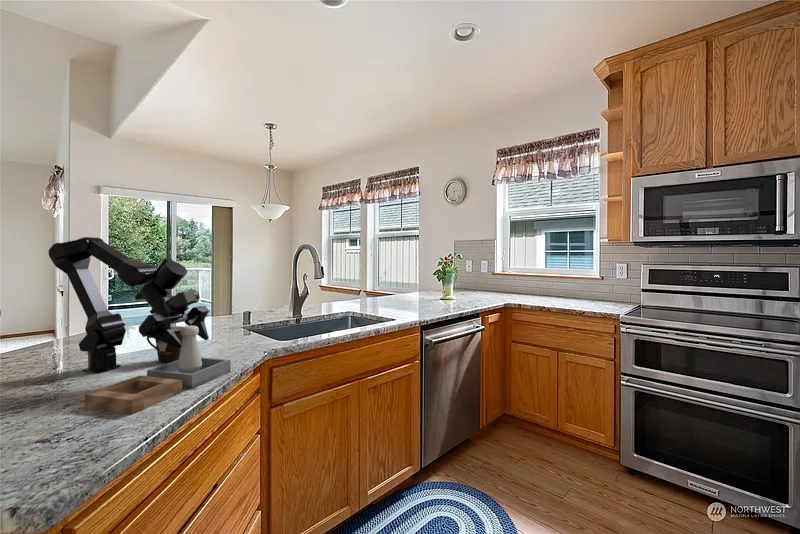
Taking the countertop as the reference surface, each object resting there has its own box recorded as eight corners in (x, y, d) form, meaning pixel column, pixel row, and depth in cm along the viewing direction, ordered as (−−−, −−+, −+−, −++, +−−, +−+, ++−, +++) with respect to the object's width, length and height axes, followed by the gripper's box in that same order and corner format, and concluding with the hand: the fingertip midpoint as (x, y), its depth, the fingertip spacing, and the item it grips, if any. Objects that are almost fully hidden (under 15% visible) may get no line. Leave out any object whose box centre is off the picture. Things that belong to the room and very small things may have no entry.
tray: (147, 383, 97) (146, 370, 97) (189, 367, 111) (189, 356, 111) (192, 389, 94) (191, 375, 94) (230, 372, 107) (230, 359, 107)
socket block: (85, 407, 82) (84, 394, 82) (139, 387, 95) (139, 375, 95) (132, 414, 79) (131, 400, 79) (182, 392, 92) (182, 380, 91)
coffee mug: (192, 359, 120) (191, 328, 119) (163, 366, 112) (162, 333, 112) (173, 354, 126) (172, 324, 125) (144, 360, 118) (143, 328, 118)
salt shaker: (199, 376, 100) (199, 327, 100) (175, 378, 99) (174, 328, 98) (203, 369, 106) (203, 323, 106) (180, 371, 104) (180, 324, 104)
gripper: (146, 283, 93) (184, 330, 91) (203, 278, 111) (235, 317, 109) (122, 313, 96) (158, 359, 93) (182, 303, 114) (213, 342, 111)
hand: (194, 343), depth 102 cm, fingers open, 9 cm apart
